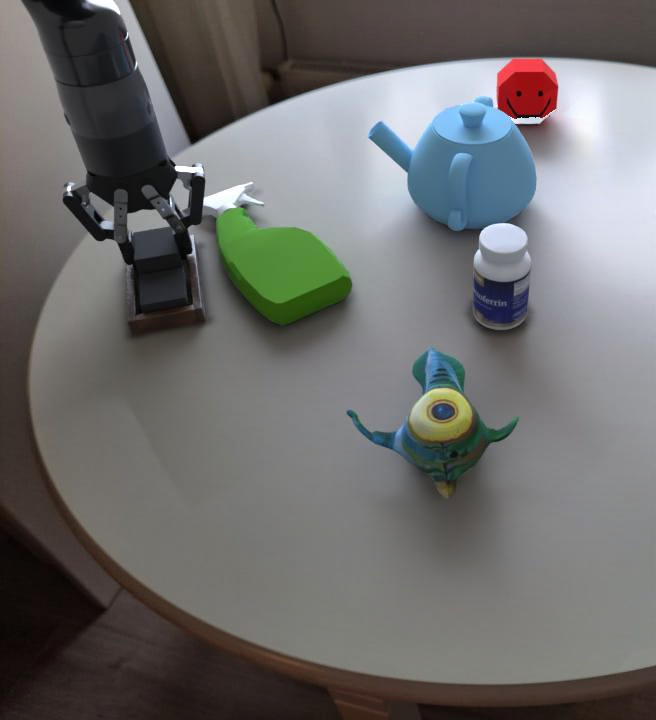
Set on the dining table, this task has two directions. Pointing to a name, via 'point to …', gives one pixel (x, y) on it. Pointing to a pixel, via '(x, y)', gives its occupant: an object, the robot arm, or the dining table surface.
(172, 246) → the pad
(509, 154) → the teapot
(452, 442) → the decorative fish
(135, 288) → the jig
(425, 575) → the dining table surface
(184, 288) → the pad
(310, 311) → the spray bottle
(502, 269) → the pill bottle
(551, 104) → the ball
